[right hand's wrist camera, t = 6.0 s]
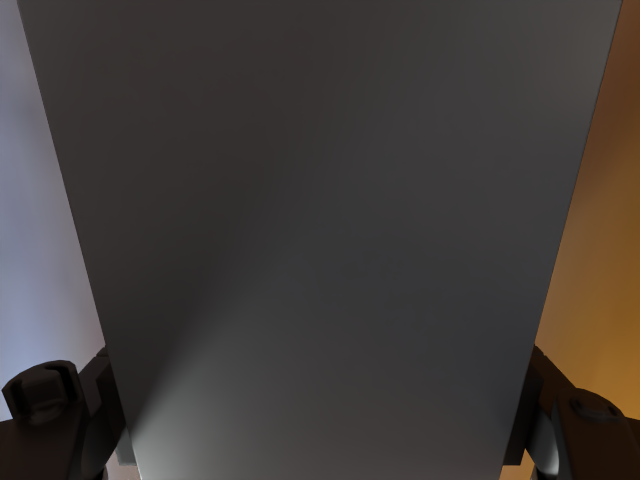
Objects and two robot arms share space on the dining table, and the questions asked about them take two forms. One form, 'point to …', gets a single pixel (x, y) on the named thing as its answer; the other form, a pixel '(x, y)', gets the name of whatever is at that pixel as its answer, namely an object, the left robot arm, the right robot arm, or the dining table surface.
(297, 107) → the long gray bar
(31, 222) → the dining table surface
